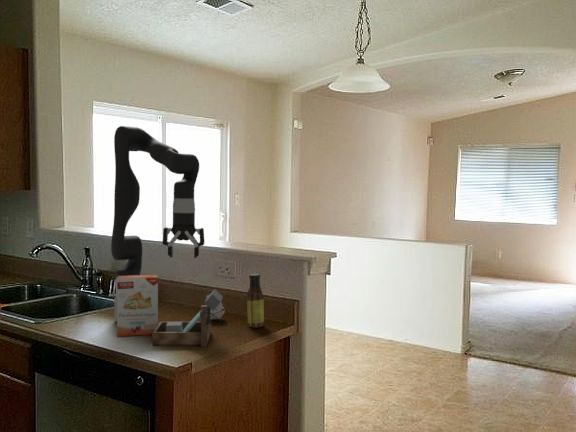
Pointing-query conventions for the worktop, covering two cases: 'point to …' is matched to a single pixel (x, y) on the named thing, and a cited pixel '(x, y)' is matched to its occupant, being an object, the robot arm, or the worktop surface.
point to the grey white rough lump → (218, 312)
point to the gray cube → (174, 327)
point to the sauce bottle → (255, 302)
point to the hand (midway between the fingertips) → (183, 257)
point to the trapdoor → (210, 302)
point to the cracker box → (137, 305)
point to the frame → (193, 337)
